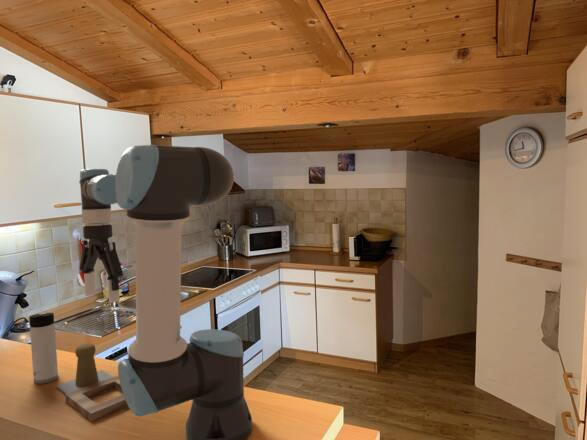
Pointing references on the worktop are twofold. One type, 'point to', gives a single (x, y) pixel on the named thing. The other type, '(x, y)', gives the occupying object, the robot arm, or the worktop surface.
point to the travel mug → (43, 348)
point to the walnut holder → (87, 406)
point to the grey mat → (72, 386)
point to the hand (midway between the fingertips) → (102, 298)
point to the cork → (86, 365)
